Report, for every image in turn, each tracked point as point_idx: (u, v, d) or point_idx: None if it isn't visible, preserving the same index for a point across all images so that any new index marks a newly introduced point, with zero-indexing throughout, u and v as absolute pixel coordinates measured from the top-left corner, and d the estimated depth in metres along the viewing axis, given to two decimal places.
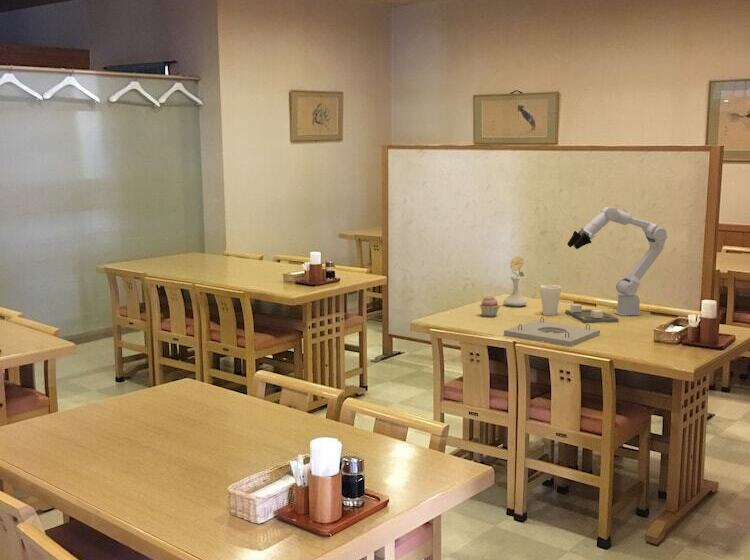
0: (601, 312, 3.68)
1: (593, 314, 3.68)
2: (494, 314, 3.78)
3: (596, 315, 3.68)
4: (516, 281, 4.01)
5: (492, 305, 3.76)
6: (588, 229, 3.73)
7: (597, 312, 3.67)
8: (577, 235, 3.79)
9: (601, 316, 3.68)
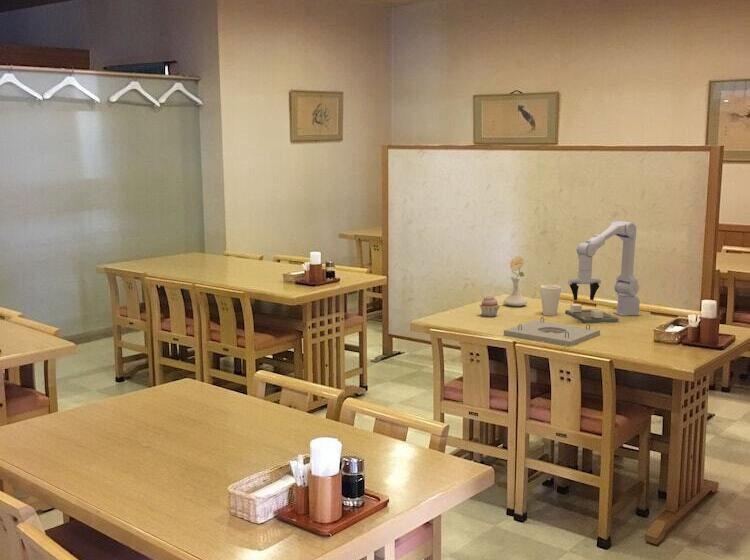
0: (601, 312, 3.68)
1: (593, 314, 3.68)
2: (494, 314, 3.78)
3: (596, 315, 3.68)
4: (516, 281, 4.01)
5: (492, 305, 3.76)
6: None
7: (597, 312, 3.67)
8: None
9: (601, 316, 3.68)
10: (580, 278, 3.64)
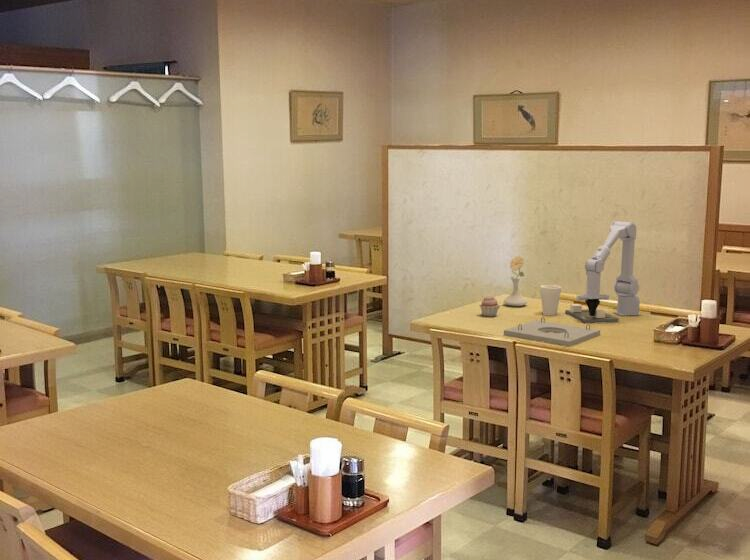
0: (603, 312, 3.68)
1: (595, 314, 3.68)
2: (494, 314, 3.78)
3: (598, 315, 3.68)
4: (516, 281, 4.01)
5: (492, 305, 3.76)
6: (599, 293, 3.66)
7: (599, 312, 3.68)
8: None
9: (603, 316, 3.68)
10: (588, 294, 3.66)
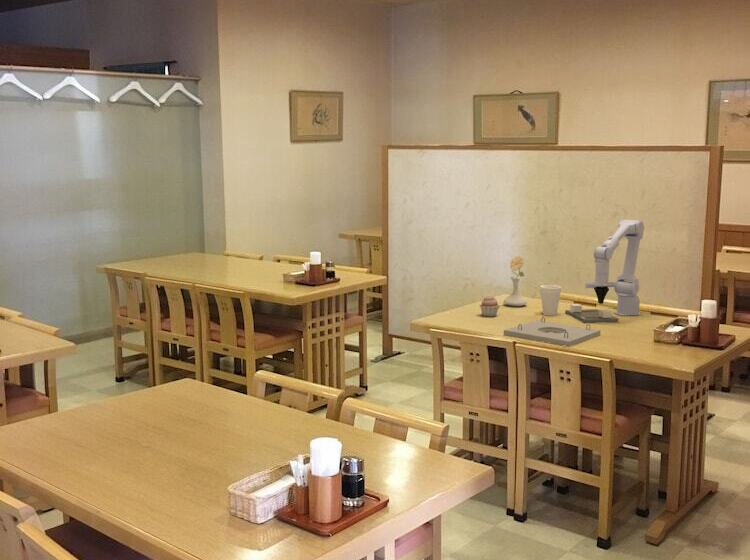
0: (610, 312, 3.68)
1: (602, 314, 3.69)
2: (494, 314, 3.78)
3: (605, 315, 3.68)
4: (516, 281, 4.01)
5: (492, 305, 3.76)
6: None
7: (606, 312, 3.68)
8: None
9: (610, 316, 3.69)
10: (597, 282, 3.66)
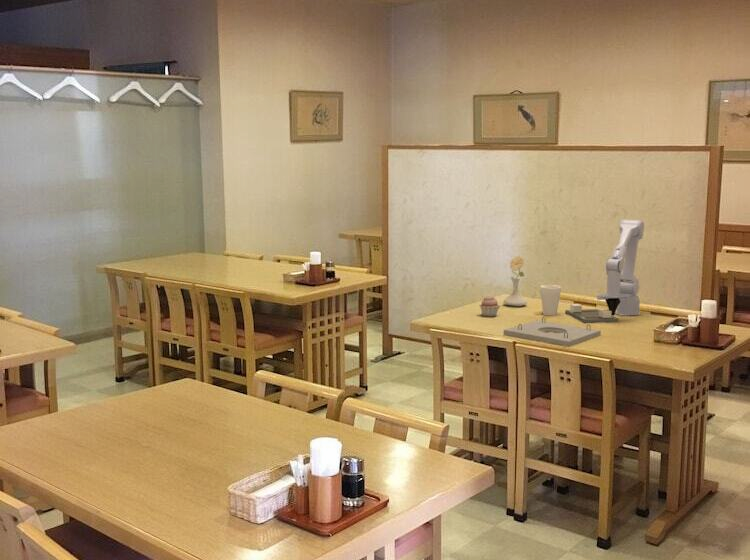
0: (609, 312, 3.68)
1: (602, 314, 3.69)
2: (494, 314, 3.78)
3: (604, 315, 3.68)
4: (516, 281, 4.01)
5: (492, 305, 3.76)
6: (619, 293, 3.68)
7: (605, 312, 3.68)
8: None
9: (609, 316, 3.69)
10: (609, 293, 3.68)
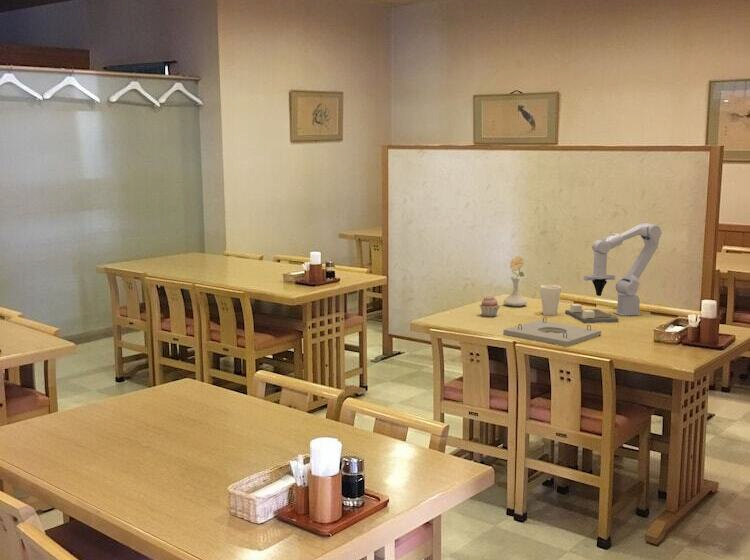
0: (592, 312, 3.67)
1: (585, 314, 3.68)
2: (494, 314, 3.78)
3: (588, 315, 3.67)
4: (516, 281, 4.01)
5: (492, 305, 3.76)
6: (605, 274, 3.77)
7: (588, 312, 3.67)
8: None
9: (592, 316, 3.67)
10: (595, 274, 3.77)
